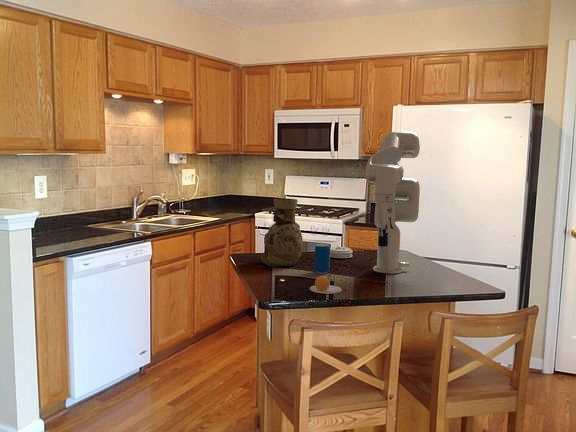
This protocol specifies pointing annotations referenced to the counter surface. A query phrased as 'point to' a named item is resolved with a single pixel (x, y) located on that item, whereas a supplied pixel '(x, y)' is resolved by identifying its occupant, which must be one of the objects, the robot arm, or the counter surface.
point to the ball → (322, 283)
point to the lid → (340, 252)
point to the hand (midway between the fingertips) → (382, 246)
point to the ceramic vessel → (283, 236)
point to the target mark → (329, 291)
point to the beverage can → (322, 258)
